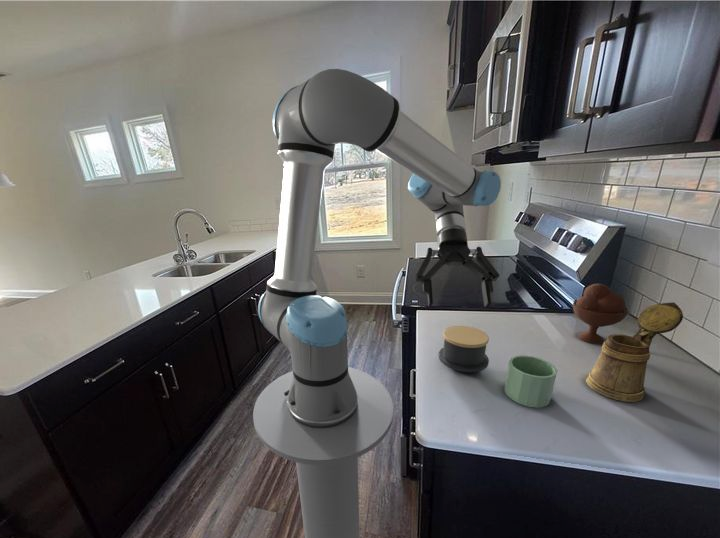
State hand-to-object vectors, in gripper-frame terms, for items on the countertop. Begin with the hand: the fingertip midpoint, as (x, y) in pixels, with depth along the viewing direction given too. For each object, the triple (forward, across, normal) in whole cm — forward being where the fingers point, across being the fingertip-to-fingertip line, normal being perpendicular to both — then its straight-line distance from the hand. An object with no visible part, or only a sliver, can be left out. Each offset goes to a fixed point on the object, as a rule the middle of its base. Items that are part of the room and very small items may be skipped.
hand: (458, 305), depth 79 cm
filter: (+15, 0, -3) cm, 15 cm away
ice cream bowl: (+3, -36, -15) cm, 40 cm away
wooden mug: (+18, -31, 0) cm, 36 cm away
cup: (+22, -11, +4) cm, 24 cm away
